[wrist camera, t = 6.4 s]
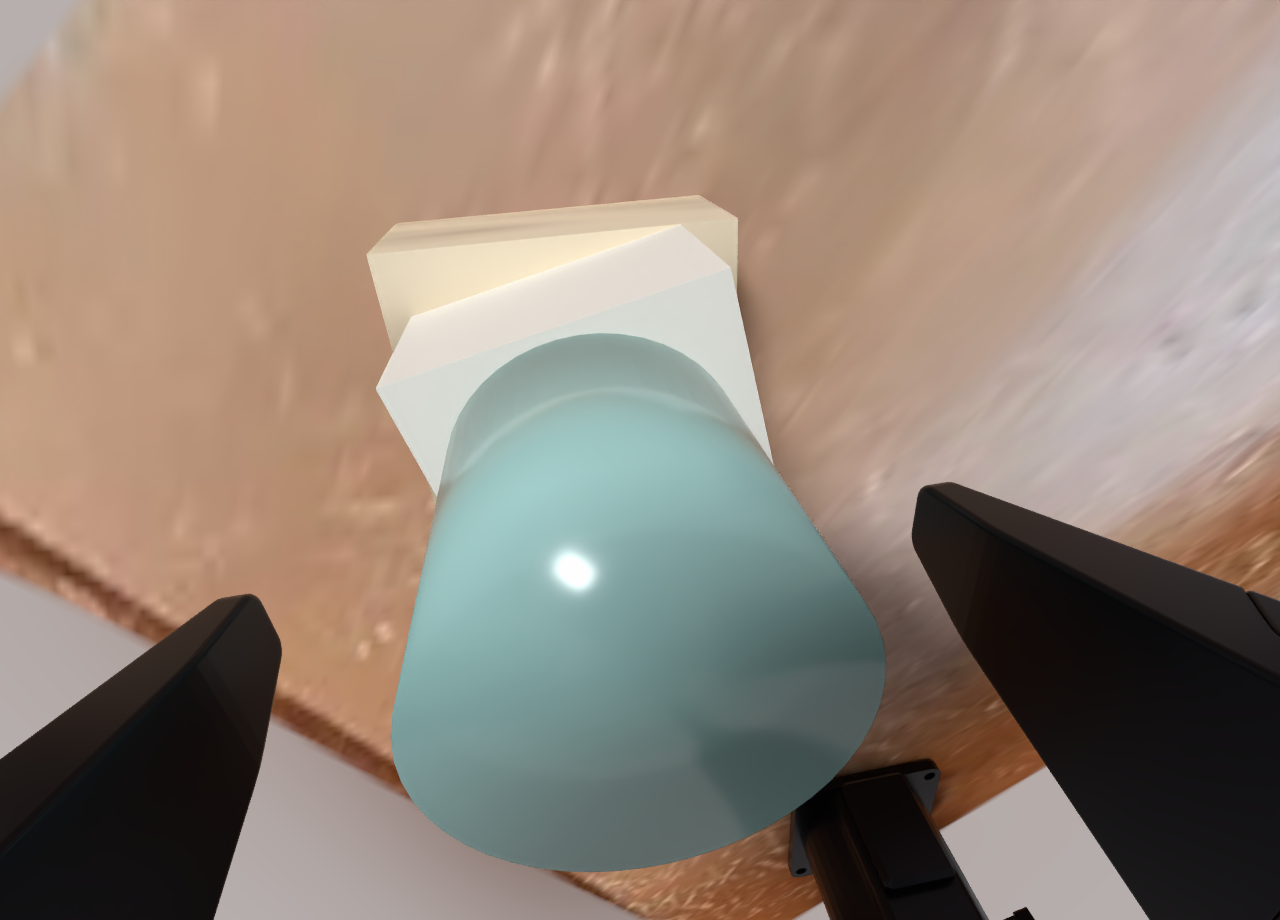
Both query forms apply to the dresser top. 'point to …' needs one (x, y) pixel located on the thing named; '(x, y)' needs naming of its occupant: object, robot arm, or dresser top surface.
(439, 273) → the tower base
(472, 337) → the tower mid
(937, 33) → the dresser top surface
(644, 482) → the teal rounded cylinder
